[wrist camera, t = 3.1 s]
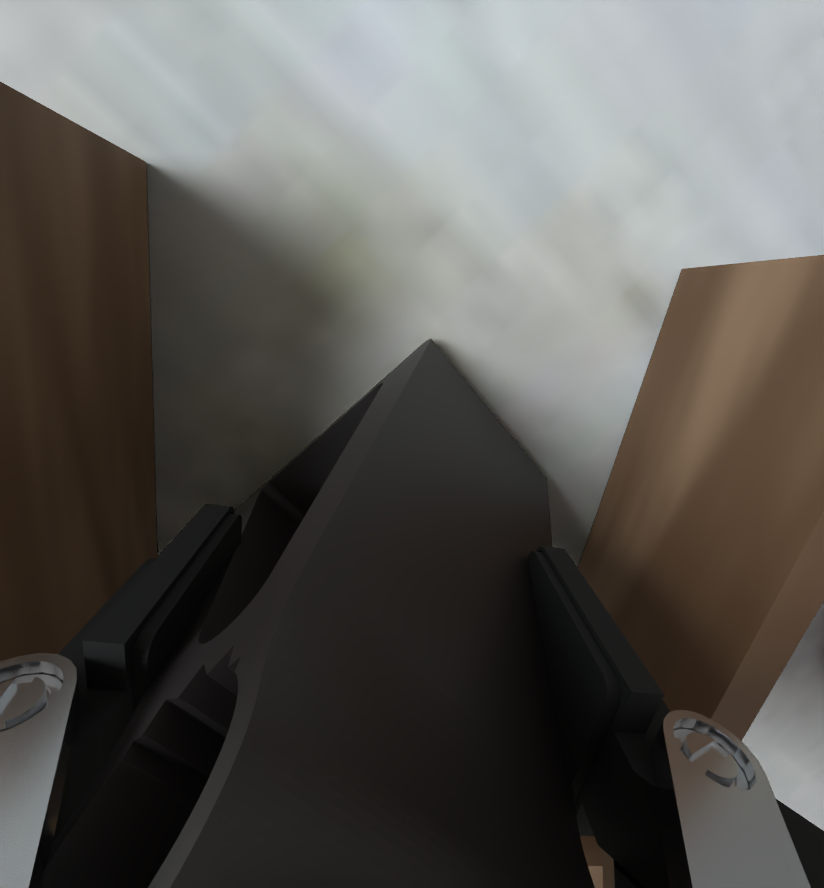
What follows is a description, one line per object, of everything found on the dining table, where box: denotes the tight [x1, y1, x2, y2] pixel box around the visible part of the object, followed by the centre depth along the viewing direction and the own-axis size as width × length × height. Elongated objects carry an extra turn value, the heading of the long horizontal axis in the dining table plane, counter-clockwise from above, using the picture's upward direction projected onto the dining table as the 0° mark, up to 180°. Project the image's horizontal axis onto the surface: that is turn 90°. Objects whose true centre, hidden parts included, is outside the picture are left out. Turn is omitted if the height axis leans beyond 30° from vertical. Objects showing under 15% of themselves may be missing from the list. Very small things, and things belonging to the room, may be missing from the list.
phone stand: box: [42, 339, 595, 888], centre depth 9 cm, size 9×6×12 cm, turn 130°
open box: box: [0, 82, 824, 888], centre depth 11 cm, size 17×16×6 cm
